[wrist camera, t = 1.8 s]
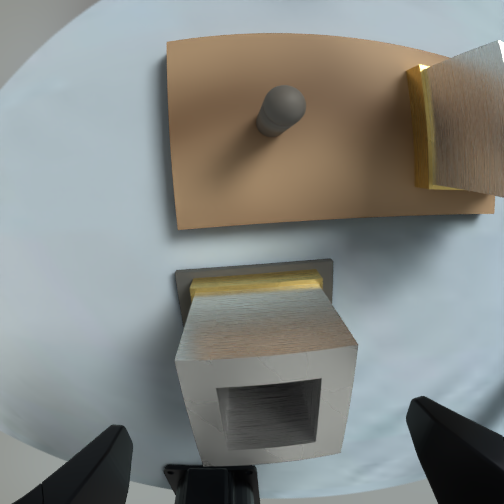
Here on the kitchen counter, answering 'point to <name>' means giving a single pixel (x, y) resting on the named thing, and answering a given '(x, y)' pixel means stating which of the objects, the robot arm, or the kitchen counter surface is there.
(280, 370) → the sleeve
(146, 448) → the kitchen counter surface
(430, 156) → the seated sleeve
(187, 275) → the dark grey square plate
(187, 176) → the pin board
